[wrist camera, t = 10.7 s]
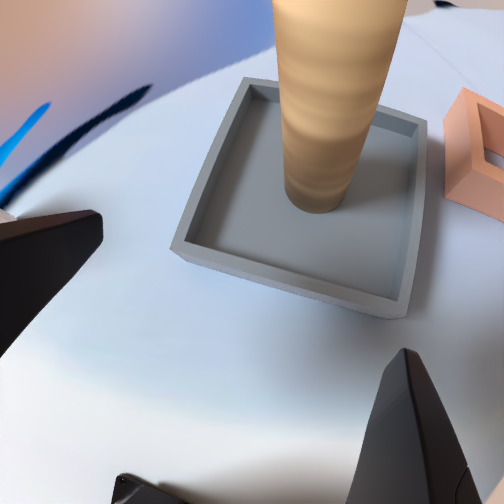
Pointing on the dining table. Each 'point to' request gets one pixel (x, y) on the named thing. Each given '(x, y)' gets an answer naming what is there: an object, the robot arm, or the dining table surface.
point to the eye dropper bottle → (6, 217)
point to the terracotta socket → (474, 154)
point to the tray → (307, 224)
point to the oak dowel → (330, 89)
